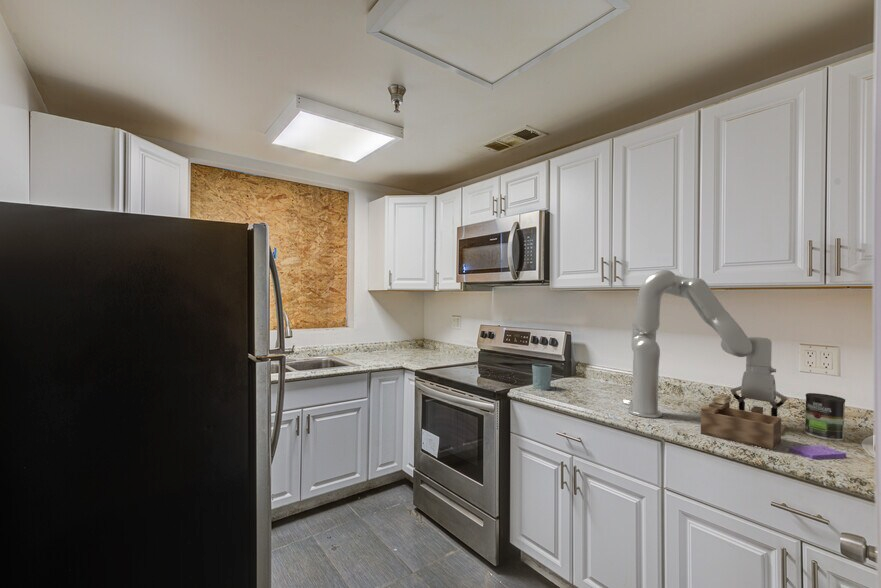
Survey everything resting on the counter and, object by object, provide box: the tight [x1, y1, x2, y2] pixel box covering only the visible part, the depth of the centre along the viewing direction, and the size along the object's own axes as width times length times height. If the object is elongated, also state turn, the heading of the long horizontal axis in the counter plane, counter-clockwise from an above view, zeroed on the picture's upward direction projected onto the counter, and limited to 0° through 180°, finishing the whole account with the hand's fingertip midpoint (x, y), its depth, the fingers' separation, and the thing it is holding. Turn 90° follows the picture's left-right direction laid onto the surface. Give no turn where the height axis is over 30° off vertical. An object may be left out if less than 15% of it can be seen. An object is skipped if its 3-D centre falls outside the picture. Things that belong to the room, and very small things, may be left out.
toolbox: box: [700, 401, 782, 451], centre depth 142 cm, size 20×20×9 cm
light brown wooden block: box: [712, 393, 731, 404], centre depth 152 cm, size 4×8×2 cm, turn 132°
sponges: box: [788, 444, 847, 460], centre depth 126 cm, size 7×13×2 cm, turn 99°
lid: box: [750, 405, 788, 435], centre depth 155 cm, size 19×14×7 cm
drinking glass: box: [531, 363, 553, 391], centre depth 209 cm, size 10×10×12 cm
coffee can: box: [804, 392, 846, 442], centre depth 144 cm, size 10×10×14 cm
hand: (757, 415), depth 153 cm, fingers open, 9 cm apart
